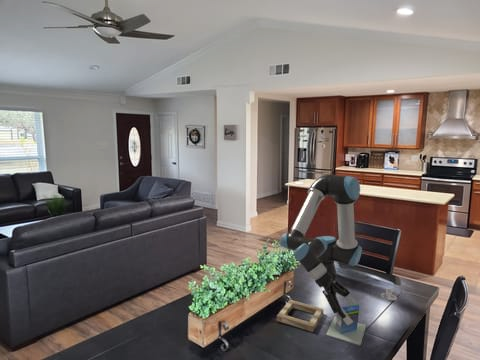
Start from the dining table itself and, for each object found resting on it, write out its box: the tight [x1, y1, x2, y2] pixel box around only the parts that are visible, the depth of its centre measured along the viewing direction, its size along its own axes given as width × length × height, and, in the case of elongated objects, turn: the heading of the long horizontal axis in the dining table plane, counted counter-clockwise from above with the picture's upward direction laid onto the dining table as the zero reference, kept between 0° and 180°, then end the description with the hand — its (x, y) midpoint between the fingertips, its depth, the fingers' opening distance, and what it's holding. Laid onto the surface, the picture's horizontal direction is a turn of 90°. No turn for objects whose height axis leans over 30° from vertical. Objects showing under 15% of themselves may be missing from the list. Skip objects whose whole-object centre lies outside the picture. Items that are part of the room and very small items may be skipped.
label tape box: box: [335, 304, 360, 333], centre depth 146 cm, size 9×4×12 cm, turn 110°
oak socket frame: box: [276, 299, 325, 333], centre depth 157 cm, size 17×17×2 cm
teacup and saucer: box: [380, 288, 398, 302], centre depth 178 cm, size 9×8×4 cm
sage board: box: [325, 316, 367, 346], centre depth 148 cm, size 16×14×1 cm
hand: (353, 315), depth 145 cm, fingers open, 13 cm apart
